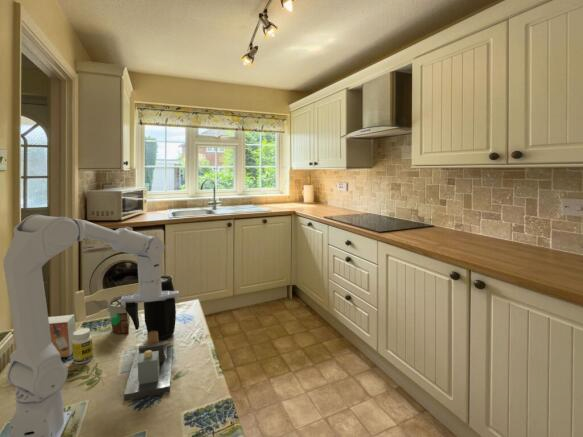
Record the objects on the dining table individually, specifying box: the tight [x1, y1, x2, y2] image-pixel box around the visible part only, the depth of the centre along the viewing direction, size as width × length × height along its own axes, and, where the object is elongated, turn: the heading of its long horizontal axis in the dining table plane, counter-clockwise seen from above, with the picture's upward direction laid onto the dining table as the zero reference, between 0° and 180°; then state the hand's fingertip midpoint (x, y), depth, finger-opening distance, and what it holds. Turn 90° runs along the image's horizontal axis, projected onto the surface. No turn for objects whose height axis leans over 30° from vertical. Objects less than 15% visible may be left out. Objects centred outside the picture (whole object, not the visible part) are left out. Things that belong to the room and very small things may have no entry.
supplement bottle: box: [72, 328, 94, 365], centre depth 90 cm, size 5×5×8 cm
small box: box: [48, 314, 77, 358], centre depth 94 cm, size 8×6×10 cm
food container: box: [106, 294, 131, 336], centre depth 108 cm, size 12×6×10 cm, turn 25°
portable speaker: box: [143, 275, 177, 342], centre depth 103 cm, size 9×9×20 cm
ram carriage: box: [138, 331, 165, 362], centre depth 89 cm, size 7×6×6 cm
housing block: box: [138, 350, 160, 384], centre depth 80 cm, size 4×4×7 cm
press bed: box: [123, 343, 174, 401], centre depth 85 cm, size 20×10×3 cm, turn 18°
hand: (152, 326), depth 90 cm, fingers open, 7 cm apart
